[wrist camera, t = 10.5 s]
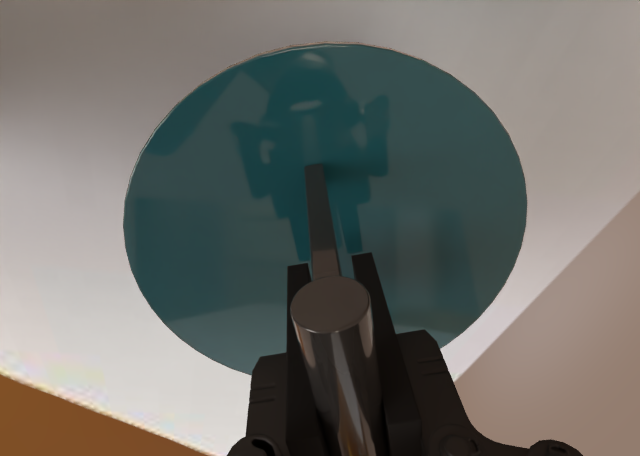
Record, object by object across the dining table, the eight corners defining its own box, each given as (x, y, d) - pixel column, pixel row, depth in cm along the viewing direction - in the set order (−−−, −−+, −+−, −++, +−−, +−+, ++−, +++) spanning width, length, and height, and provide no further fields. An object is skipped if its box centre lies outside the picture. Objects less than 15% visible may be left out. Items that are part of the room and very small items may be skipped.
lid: (204, 386, 22) (156, 614, 14) (54, 86, 14) (-288, 237, 6) (498, 339, 22) (619, 548, 14) (537, -4, 13) (932, 19, 5)
